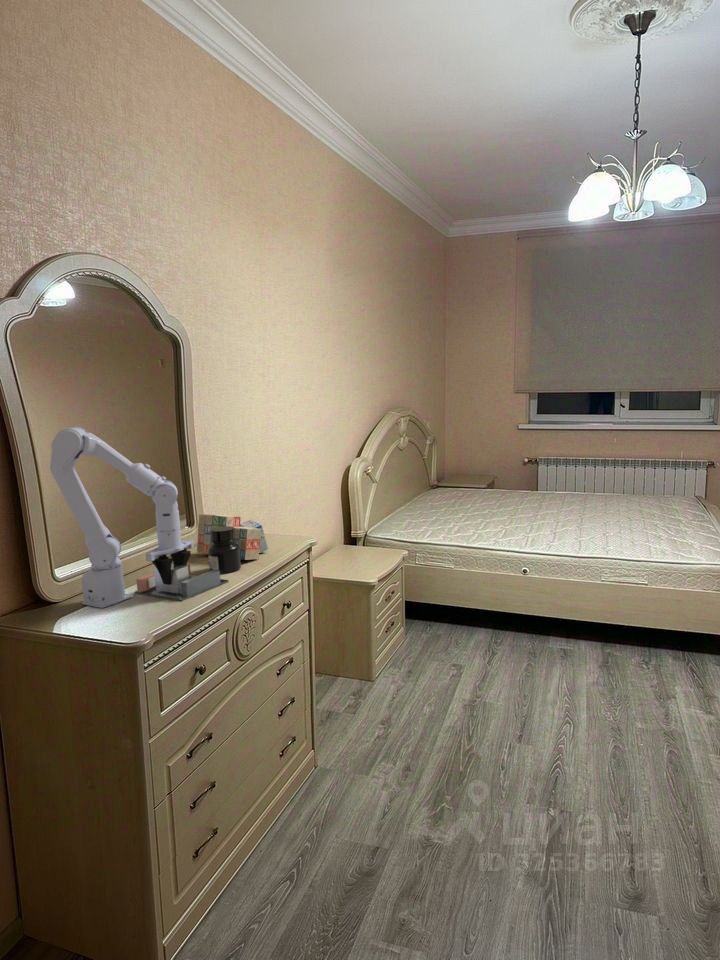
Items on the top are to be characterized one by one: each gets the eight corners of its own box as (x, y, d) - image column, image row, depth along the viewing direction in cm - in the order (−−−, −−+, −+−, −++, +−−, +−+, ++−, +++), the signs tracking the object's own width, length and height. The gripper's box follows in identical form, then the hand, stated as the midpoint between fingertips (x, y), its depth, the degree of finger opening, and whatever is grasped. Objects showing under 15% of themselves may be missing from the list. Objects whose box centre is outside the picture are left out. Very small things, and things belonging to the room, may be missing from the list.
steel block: (178, 593, 168) (176, 570, 167) (156, 590, 172) (153, 567, 171) (190, 588, 171) (187, 565, 170) (167, 585, 175) (165, 563, 174)
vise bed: (181, 601, 165) (180, 585, 164) (135, 593, 173) (133, 578, 172) (228, 582, 179) (227, 567, 178) (183, 575, 187) (181, 561, 187)
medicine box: (245, 548, 213) (238, 524, 209) (257, 542, 215) (250, 518, 212) (256, 555, 206) (249, 530, 203) (269, 549, 208) (262, 524, 205)
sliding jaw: (143, 591, 171) (142, 579, 171) (137, 590, 172) (136, 578, 172) (191, 574, 186) (190, 562, 185) (185, 573, 187) (184, 562, 186)
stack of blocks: (259, 559, 201) (262, 518, 201) (244, 560, 196) (247, 518, 196) (211, 552, 213) (213, 513, 214) (195, 552, 208) (198, 513, 209)
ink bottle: (211, 566, 196) (207, 526, 194) (241, 564, 197) (238, 524, 195) (208, 575, 186) (205, 533, 184) (240, 572, 187) (237, 531, 186)
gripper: (157, 537, 161) (163, 591, 163) (200, 524, 173) (205, 575, 175) (137, 534, 164) (142, 588, 166) (181, 522, 177) (185, 572, 179)
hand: (173, 581), depth 171 cm, fingers closed on steel block, 4 cm apart
